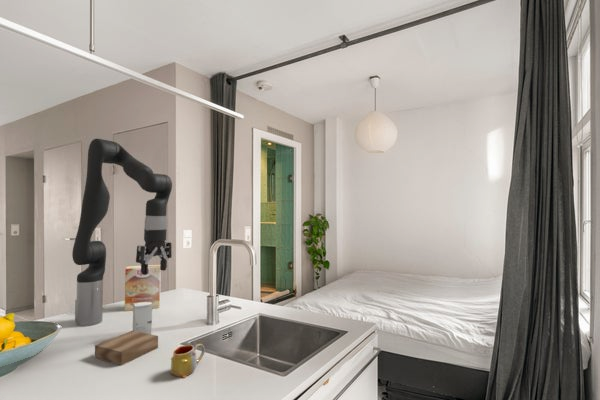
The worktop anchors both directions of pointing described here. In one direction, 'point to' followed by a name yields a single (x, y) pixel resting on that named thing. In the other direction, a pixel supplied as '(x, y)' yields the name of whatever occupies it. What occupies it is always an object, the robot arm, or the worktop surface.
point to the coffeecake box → (142, 286)
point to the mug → (185, 360)
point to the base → (126, 347)
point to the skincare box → (142, 317)
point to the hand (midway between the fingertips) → (154, 272)
